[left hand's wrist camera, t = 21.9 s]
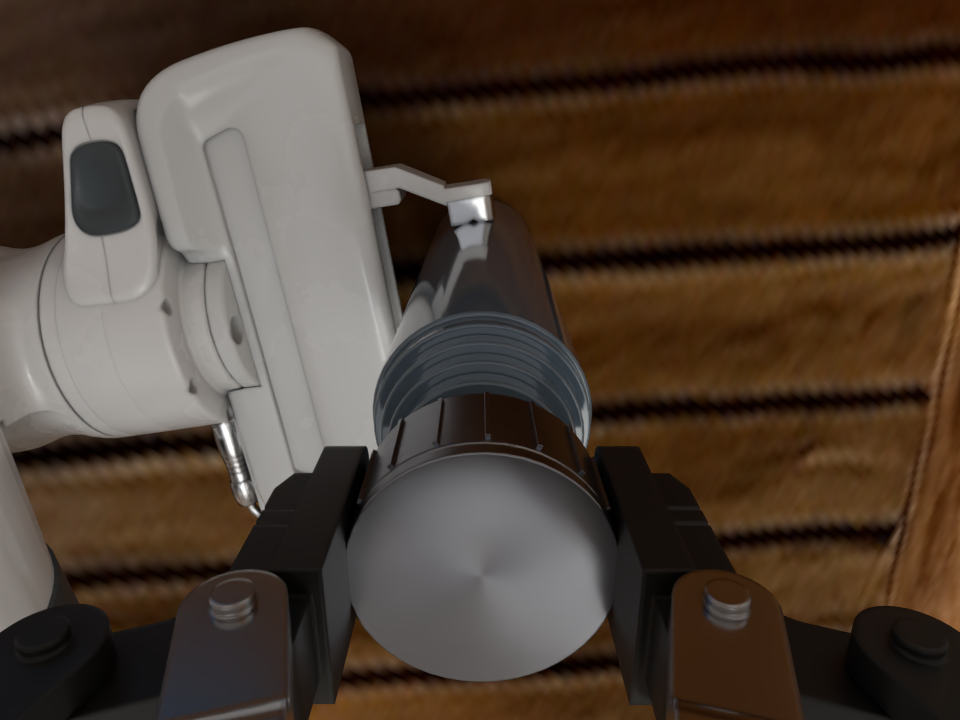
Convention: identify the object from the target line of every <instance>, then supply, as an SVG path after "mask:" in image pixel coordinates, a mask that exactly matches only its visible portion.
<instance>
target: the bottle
mask: <svg viewBox="0 0 960 720" xmlns="http://www.w3.org/2000/svg"><path fill="white" fill-rule="evenodd" d="M493 202H494V210H495V219H493V220H490V221H484V222H478V221H476V220H474V219H473V220H472V221H470V222H469V223H468V224H464V225H458V226H451V222H450V216H449V212H448V213H447V214H446V215H445V216H444V217H443V219H442V220H441V221H440V223H439V225H438V227H437V229H436V231H435V234H434V237H433V239H432V242H431V244H430V247H429V249H428V252H427V254H426V257H425V260H424V262H423V265H422V267H421V270H420V272H419V275H418V278H417V280H416V283H415V285H414V288H413V290H412V293H411V296H410V298H409V301H408V303H407V306H406V308H405V311H404V314H403V316H402V319H401V321H400V324H399V326H398V329H397V332H396V334H395V337H394V339H393V342H392V344H391V347H390V350H389V352H388V355H387V357H386V360H385V362H384V365H383V368H382V370H381V373H380V375H379V378H378V380H377V384H376V388H375V392H374V398H373V423H374V433H375V438H376V443H377V446H378V447H379V445H380V444H381V443H382V441H383V440H384V438H385V437H386V436H387V434H388V433H389V432H390V431H391V430H392V429H393V428H394V427H395V426H396V425H397V424H398V420H400V419H401V418H403V419H405V418H406V417H407V416H409V415H410V414H412V413H413V412H415V411H417V410H419V409H420V408H422V407H424V406H426V405H429V404H431V403H433V402H436V401H438V399H439V398H443V399H445V398H449V397H452V396H458V395H465V394H477V393H484V392H489V394H500V395H506V396H510V397H515V398H519V399H522V400H525V401H528V402H530V401H533V402H535V405H537V406H539V407H541V408H543V409H545V410H547V411H549V412H550V413H552V414H553V415H555V416H556V417H558V418H559V419H560V420H561V421H563V422H564V423H565V424H566V425H568V424H570V425H571V426H572V428H573V432H574V433H575V434H576V435H577V437H578V438H579V439H580V440H581V442H582V443H583V445H584V447H585V448H586V449H587V445H588V441H589V437H590V428H591V419H592V400H591V394H590V389H589V385H588V382H587V379H586V377H585V374H584V371H583V369H582V366H581V363H580V361H579V358H578V356H577V353H576V350H575V348H574V345H573V343H572V340H571V337H570V335H569V332H568V330H567V327H566V324H565V322H564V319H563V317H562V314H561V311H560V309H559V306H558V304H557V301H556V298H555V296H554V293H553V291H552V288H551V285H550V283H549V280H548V278H547V275H546V272H545V270H544V267H543V265H542V262H541V259H540V257H539V254H538V252H537V249H536V246H535V244H534V241H533V239H532V236H531V233H530V231H529V228H528V226H527V224H526V223H525V221H524V220H523V218H522V217H521V216H520V215H519V214H518V213H517V212H516V211H515V210H514V209H513V208H511V207H510V206H508V205H506V204H504V203H502V202H499V201H496V200H493Z"/></svg>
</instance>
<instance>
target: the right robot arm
mask: <svg viewBox="0 0 960 720" xmlns="http://www.w3.org/2000/svg"><path fill="white" fill-rule="evenodd" d="M62 153H63V170H64V194H65V234H62V235H59V236H57V237H55V238H53V239H51V240H49V241H48V242H46V243H44V244H41V245H39V246H36V247H32V248H25V249H19V248H11V247H4V246H0V632H1V631H3V630H4V629H6V628H7V627H9V626H10V625H12V624H13V623H15V622H17V621H19V620H21V619H23V618H25V617H27V616H29V615H31V614H34V613H36V612H39V611H42V610H45V609H48V608H52V607H56V606H62V605H69V604H79V602H78V600H77V598H76V596H75V594H74V592H73V590H72V588H71V586H70V584H69V582H68V580H67V578H66V576H65V574H64V573H63V571H62V569H61V567H60V565H59V563H58V561H57V559H56V557H55V555H54V553H53V551H52V550H51V548H50V547H49V546H48V545H47V544H46V543H45V540H44V537H43V535H42V532H41V530H40V527H39V524H38V522H37V519H36V516H35V514H34V511H33V508H32V506H31V503H30V501H29V498H28V495H27V493H26V490H25V487H24V485H23V482H22V479H21V477H20V474H19V472H18V469H17V466H16V464H15V461H14V458H13V456H12V453H14V452H21V451H26V450H31V449H35V448H39V447H41V446H44V445H46V444H49V443H51V442H53V441H55V440H57V439H59V438H62V437H64V436H69V435H87V436H92V437H101V438H119V437H127V436H134V435H142V434H149V433H156V432H163V431H170V430H177V429H184V428H191V427H198V426H205V425H211V429H212V432H213V434H214V437H215V441H216V444H217V447H218V450H219V452H220V455H221V457H222V459H223V461H224V462H225V465H226V467H227V470H228V472H229V476H230V487H231V490H232V493H233V496H234V498H235V500H236V501H237V503H238V504H239V506H242V507H247V508H248V509H249V511H250V512H251V513H252V514H253V515H254V516H255V517H256V518H258V517H259V516H260V514H261V512H262V510H264V509H265V505H266V503H267V501H268V499H269V497H270V495H271V494H272V492H273V490H274V488H276V487H277V486H278V485H279V484H281V483H282V482H283V481H285V480H286V479H287V478H289V477H290V476H291V475H293V474H294V473H312V472H313V470H314V468H315V466H316V464H317V462H318V459H319V457H320V455H321V453H322V451H323V449H324V447H325V446H367V448H368V453H369V460H370V456H371V453H372V451H373V450H376V451H377V449H378V446H377V443H376V438H375V433H374V423H373V398H374V392H375V388H376V384H377V380H378V378H379V375H380V373H381V370H382V368H383V365H384V362H385V360H386V357H387V355H388V352H389V350H390V347H391V344H392V342H393V339H394V337H395V334H396V332H397V329H398V326H399V324H400V321H401V319H402V316H403V312H402V307H401V302H400V297H399V292H398V287H397V282H396V277H395V272H394V267H393V262H392V257H391V252H390V247H389V242H388V237H387V232H386V227H385V222H384V217H383V212H382V207H385V206H391V205H397V204H399V203H400V202H401V201H402V200H403V198H404V197H405V196H406V192H405V190H406V191H408V192H411V193H414V194H416V195H419V196H421V197H424V198H427V199H429V200H432V201H435V202H437V203H440V204H443V205H445V206H447V205H448V211H449V216H450V222H451V226H458V225H464V224H468V223H469V222H470V221H472V220H473V219H474V220H476V221H478V222H484V221H490V220H493V219H495V210H494V202H493V195H492V188H491V181H490V179H479V180H472V181H466V182H459V183H453V184H446V181H444V180H441V179H439V178H436V177H434V176H431V175H429V174H426V173H424V172H421V171H419V170H416V169H414V168H411V167H409V166H406V165H404V164H401V163H399V164H393V165H387V166H380V167H374V166H373V161H372V156H371V151H370V146H369V141H368V136H367V131H366V126H365V121H364V116H363V111H362V106H361V101H360V95H359V90H358V85H357V80H356V75H355V70H354V65H353V60H352V57H351V54H350V53H349V51H348V50H347V49H346V48H345V47H344V46H343V45H341V44H340V43H339V42H337V41H336V40H335V39H334V38H332V37H331V36H329V35H328V34H326V33H324V32H322V31H320V30H317V29H314V28H306V27H302V28H293V29H287V30H281V31H277V32H272V33H268V34H264V35H259V36H255V37H251V38H248V39H244V40H240V41H237V42H233V43H230V44H227V45H224V46H220V47H217V48H214V49H211V50H208V51H206V52H203V53H200V54H197V55H194V56H192V57H189V58H187V59H184V60H182V61H179V62H177V63H175V64H173V65H171V66H169V67H167V68H166V69H164V70H162V71H161V72H160V73H158V74H157V75H156V76H155V77H154V78H153V79H152V80H151V81H150V82H149V83H148V84H147V85H146V87H145V88H144V90H143V92H142V94H141V96H140V99H139V100H113V101H105V102H99V103H94V104H90V105H86V106H83V107H79V108H76V109H74V110H72V111H70V112H69V113H68V114H67V115H66V117H65V119H64V122H63V126H62ZM257 501H258V503H259V506H260V508H259V507H258V506H257V505H256V502H257Z"/></svg>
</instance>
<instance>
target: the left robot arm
mask: <svg viewBox="0 0 960 720" xmlns="http://www.w3.org/2000/svg"><path fill="white" fill-rule="evenodd" d="M594 458H595V461H596V464H597V467H598V470H599V473H600V476H601V479H602V482H603V485H604V488H605V491H606V494H607V497H608V500H609V503H610V506H611V509H612V512H609V515H610V518H611V521H612V524H613V527H614V530H615V533H616V537H617V541H618V546H617V559H616V570H615V582H614V593H613V604H612V608H611V610H610V612H609V614H608V616H607V617H608V621H609V625H610V629H611V633H612V637H613V641H614V645H615V649H616V653H617V657H618V660H619V664H620V668H621V672H622V676H623V680H624V684H625V688H626V692H627V696H628V700H629V704H630V705H652V707H653V710H654V714H655V717H656V720H960V632H958V631H957V630H955V629H954V628H952V627H951V626H949V625H947V624H946V623H944V622H942V621H940V620H938V619H936V618H934V617H931V616H929V615H926V614H924V613H921V612H918V611H914V610H911V609H907V608H901V607H895V606H876V607H871V608H868V609H865V610H863V611H862V612H860V613H859V614H858V615H857V616H856V617H855V620H854V623H853V627H852V631H851V633H848V632H843V631H839V630H834V629H830V628H825V627H821V626H816V625H812V624H808V623H804V622H800V621H797V620H794V619H791V618H788V617H786V616H784V615H783V612H782V609H781V606H780V604H779V603H778V601H777V600H776V598H775V597H774V596H773V595H772V594H771V593H770V592H769V591H768V590H767V589H766V588H764V587H763V586H761V585H760V584H758V583H757V582H755V581H753V580H751V579H749V578H747V577H744V576H742V575H739V574H737V573H736V572H735V570H734V568H733V566H732V564H731V563H730V561H729V559H728V557H727V555H726V554H725V552H724V550H723V548H722V547H721V545H720V543H719V541H718V539H717V538H716V536H715V534H714V532H713V530H712V529H711V527H710V526H708V521H707V520H706V518H705V516H704V514H703V512H702V511H700V509H699V505H698V503H697V502H696V500H695V498H694V496H693V494H692V493H691V491H690V489H689V488H688V487H686V486H685V485H684V484H682V483H681V482H680V481H678V480H677V479H676V478H674V477H673V476H672V475H670V474H669V473H651V471H650V469H649V467H648V465H647V463H646V461H645V458H644V456H643V454H642V452H641V450H640V448H639V447H637V446H597V448H596V450H595V455H594ZM368 463H369V453H368V448H367V446H325V447H324V449H323V451H322V453H321V455H320V457H319V459H318V462H317V464H316V466H315V468H314V470H313V472H312V473H294V474H293V475H291V476H290V477H289V478H287V479H286V480H285V481H283V482H282V483H281V484H279V485H278V486H277V487H276V488H274V490H273V492H272V494H271V495H270V497H269V499H268V501H267V503H266V505H265V509H264V510H262V512H261V514H260V516H259V517H258V519H257V521H256V525H254V527H253V528H252V530H251V532H250V534H249V536H248V537H247V539H246V541H245V543H244V545H243V547H242V548H241V550H240V552H239V554H238V556H237V558H236V559H235V561H234V563H233V565H232V567H231V569H230V570H229V572H227V573H224V574H221V575H218V576H216V577H213V578H211V579H209V580H207V581H205V582H203V583H202V584H200V585H199V586H197V587H196V588H194V589H193V590H192V591H191V592H190V593H189V594H188V595H187V596H186V597H185V598H184V600H183V601H182V603H181V604H180V606H179V609H178V612H177V616H176V617H174V618H172V619H169V620H165V621H162V622H158V623H154V624H149V625H145V626H140V627H136V628H131V629H127V630H123V631H118V632H114V633H112V631H111V627H110V623H109V619H108V616H107V615H106V614H105V612H104V611H102V610H101V609H99V608H97V607H94V606H91V605H86V604H69V605H62V606H56V607H52V608H48V609H45V610H42V611H39V612H36V613H34V614H31V615H29V616H27V617H25V618H23V619H21V620H19V621H17V622H15V623H13V624H12V625H10V626H9V627H7V628H6V629H4V630H3V631H1V632H0V720H308V719H309V715H310V712H311V708H312V705H313V704H335V701H336V697H337V693H338V689H339V685H340V681H341V677H342V672H343V668H344V664H345V660H346V656H347V652H348V648H349V644H350V640H351V636H352V632H353V627H354V623H355V619H356V614H355V612H354V610H353V608H352V606H351V597H350V585H349V574H348V562H347V549H346V541H347V538H348V534H349V531H350V528H351V525H352V521H353V518H354V515H355V511H356V508H357V505H358V503H356V501H357V498H358V495H359V492H360V488H361V485H362V482H363V479H364V476H365V472H366V469H367V466H368Z"/></svg>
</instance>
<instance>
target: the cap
mask: <svg viewBox="0 0 960 720" xmlns="http://www.w3.org/2000/svg"><path fill="white" fill-rule="evenodd" d="M356 503H358V505H357V508H356V511H355V515H354V518H353V521H352V525H351V528H350V531H349V534H348V538H347V541H346V549H347V562H348V574H349V585H350V597H351V606H352V608H353V610H354V612H355V614H356V616H357V618H358V619H359V621H360V622H361V624H362V625H363V627H364V628H365V629H366V631H367V632H368V633H369V634H370V635H371V636H372V637H373V639H374V640H375V641H376V642H378V643H379V644H380V645H381V646H382V647H383V648H384V649H385V650H387V651H388V652H389V653H391V654H392V655H394V656H395V657H397V658H398V659H400V660H401V661H403V662H405V663H407V664H409V665H411V666H413V667H415V668H417V669H420V670H422V671H425V672H427V673H430V674H434V675H437V676H441V677H445V678H450V679H456V680H461V681H475V682H486V681H501V680H508V679H514V678H518V677H523V676H527V675H530V674H533V673H536V672H539V671H542V670H544V669H546V668H548V667H551V666H553V665H555V664H557V663H559V662H561V661H562V660H564V659H565V658H567V657H568V656H570V655H572V654H573V653H574V652H576V651H577V650H578V649H579V648H581V647H582V646H583V645H584V644H585V643H586V642H587V641H588V640H589V639H590V638H591V637H592V636H593V635H594V634H595V633H596V632H597V630H598V629H599V628H600V626H601V625H602V624H603V622H604V621H605V619H606V617H607V616H608V614H609V612H610V610H611V608H612V604H613V593H614V582H615V570H616V559H617V546H618V541H617V537H616V533H615V530H614V527H613V524H612V521H611V518H610V515H609V512H612V509H611V506H610V503H609V500H608V497H607V494H606V491H605V488H604V485H603V482H602V479H601V476H600V473H599V470H598V467H597V464H596V461H595V458H594V457H592V458H590V456H589V454H588V451H587V450H586V448H585V447H584V445H583V443H582V442H581V440H580V439H579V438H578V437H577V435H576V434H575V433H574V432H573V428H572V426H571V425H570V424H568V425H566V424H565V423H564V422H563V421H561V420H560V419H559V418H558V417H556V416H555V415H553V414H552V413H550V412H549V411H547V410H545V409H543V408H541V407H539V406H537V405H535V402H533V401H530V402H528V401H525V400H522V399H519V398H515V397H510V396H506V395H500V394H489V392H484V393H477V394H465V395H458V396H452V397H449V398H445V399H443V398H439V399H438V401H436V402H433V403H431V404H429V405H426V406H424V407H422V408H420V409H419V410H417V411H415V412H413V413H412V414H410V415H409V416H407V417H406V418H405V419H403V418H401V419H400V420H398V424H397V425H396V426H395V427H394V428H393V429H392V430H391V431H390V432H389V433H388V434H387V436H386V437H385V438H384V440H383V441H382V443H381V444H380V445H379V447H378V449H377V451H376V450H373V451H372V453H371V456H370V460H369V463H368V466H367V469H366V472H365V476H364V479H363V482H362V485H361V488H360V492H359V495H358V498H357V501H356Z"/></svg>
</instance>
